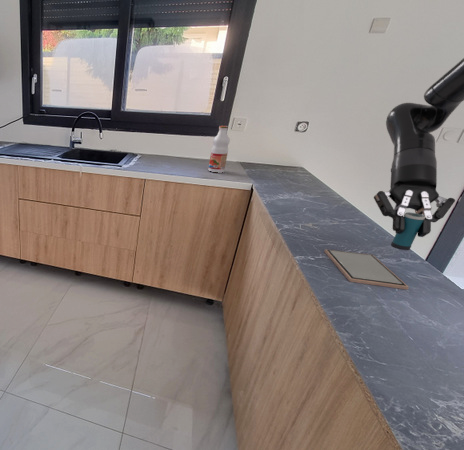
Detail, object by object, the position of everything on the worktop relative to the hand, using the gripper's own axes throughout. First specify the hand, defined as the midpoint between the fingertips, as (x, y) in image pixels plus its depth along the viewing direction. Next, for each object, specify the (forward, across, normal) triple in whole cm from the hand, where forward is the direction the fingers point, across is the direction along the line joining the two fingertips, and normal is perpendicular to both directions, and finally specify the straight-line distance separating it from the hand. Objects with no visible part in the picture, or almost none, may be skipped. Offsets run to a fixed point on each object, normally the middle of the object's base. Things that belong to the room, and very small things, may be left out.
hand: (411, 233), depth 72 cm
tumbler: (+2, 0, +5) cm, 5 cm away
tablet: (+4, -2, +19) cm, 20 cm away
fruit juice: (-73, -52, +97) cm, 132 cm away
